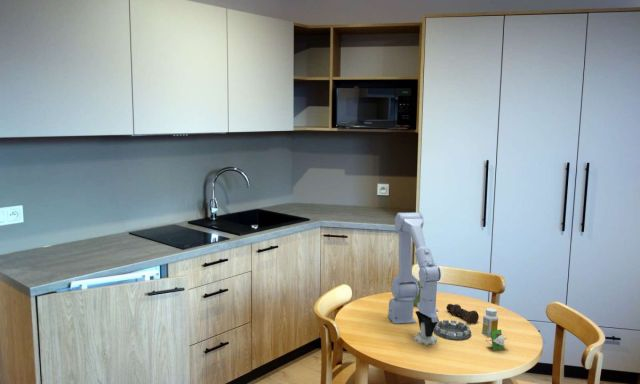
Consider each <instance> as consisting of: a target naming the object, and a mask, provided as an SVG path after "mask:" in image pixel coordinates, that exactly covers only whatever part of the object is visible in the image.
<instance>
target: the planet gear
mask: <svg viewBox="0 0 640 384" xmlns="http://www.w3.org/2000/svg"><path fill="white" fill-rule="evenodd" d="M419 331H420V330H419ZM437 337H438V336H437V335H434V333H433V334H432V336H431V337H426V335H425V325H424V322H422V323H421V331H420V332H417V333H416V334H414V335H413V340H414V342H417V344H420V345H421V344H423V345H424V346H429V345H435V344H437V343H438V338H437Z"/></svg>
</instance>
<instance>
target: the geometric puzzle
mask: <svg viewBox="0 0 640 384" xmlns="http://www.w3.org/2000/svg"><path fill="white" fill-rule="evenodd" d="M502 332H503V331H502V329H497V330H493V331H491V336H490V335H488V336H487V337H491V338H490V339H485V342H487V343H489V342H491V343H490V346H492V347H491V349H492V350H493V351H495V350H504V349H505V340H506V338H504V335H503V333H502ZM489 334H490V333H489Z"/></svg>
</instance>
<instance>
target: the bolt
mask: <svg viewBox="0 0 640 384" xmlns="http://www.w3.org/2000/svg"><path fill="white" fill-rule="evenodd" d="M446 311H448V312H450V313H451V314H452V316H455V317H456V316H459V317H461V318H464V319H465V320H466V322H467V324H469V325H473V324H475V325H476V324H477V322H478V321H479V317H480V316H479V313H478V311H476V310H470V311H469V310H466V309H464V308H462V306H461V305H460V304H458V303H457V304H456V303H455V304H452V303H448V304H447V306H446Z"/></svg>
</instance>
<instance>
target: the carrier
mask: <svg viewBox="0 0 640 384" xmlns="http://www.w3.org/2000/svg"><path fill="white" fill-rule="evenodd" d="M469 326H470V325H468V324H465V323H464V322H463V321H458V322H457V320H452V319H451V320H449V319H444V320H439V322H438V323H437V324H436V326H435V328H434V331H433V334H435V336H436V337H439V338H442V339H446V340H449V341H450V340H451V341H466V340H469V339H470V338H471V337H472V331H471V330H470V328H471V327H469Z"/></svg>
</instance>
